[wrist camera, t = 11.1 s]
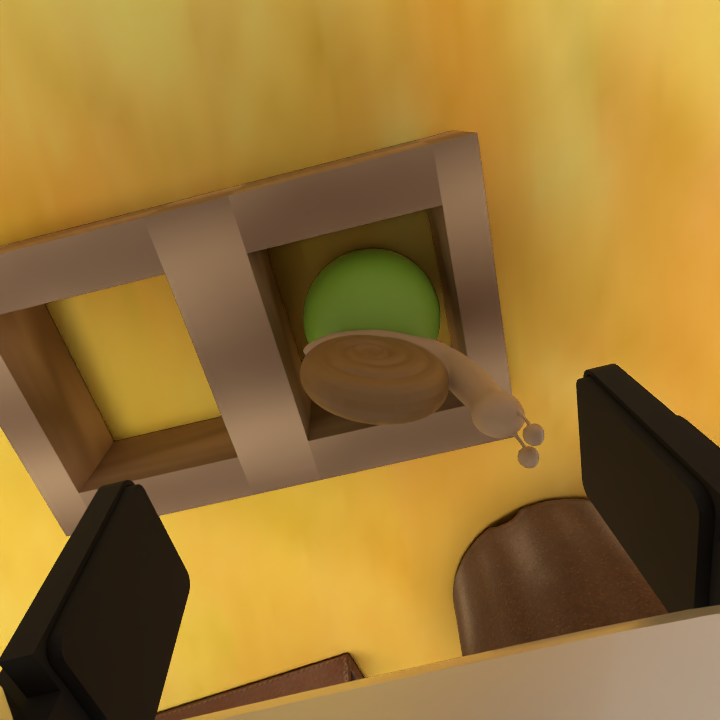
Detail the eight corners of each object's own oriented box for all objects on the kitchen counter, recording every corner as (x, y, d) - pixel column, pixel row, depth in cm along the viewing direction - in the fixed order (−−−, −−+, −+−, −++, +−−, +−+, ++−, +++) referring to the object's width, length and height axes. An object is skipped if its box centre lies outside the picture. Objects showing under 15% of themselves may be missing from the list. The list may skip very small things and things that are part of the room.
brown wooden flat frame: (-21, 251, 22) (-90, 276, 18) (452, 130, 21) (477, 132, 17) (102, 480, 27) (66, 536, 23) (491, 392, 26) (517, 436, 22)
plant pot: (419, 465, 28) (518, 859, 13) (725, 452, 28) (1154, 815, 13) (413, 676, 34) (473, 1094, 20) (660, 662, 35) (899, 1059, 20)
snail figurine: (441, 357, 25) (525, 538, 14) (304, 350, 25) (281, 533, 14) (458, 241, 23) (571, 350, 12) (308, 232, 22) (283, 336, 12)
